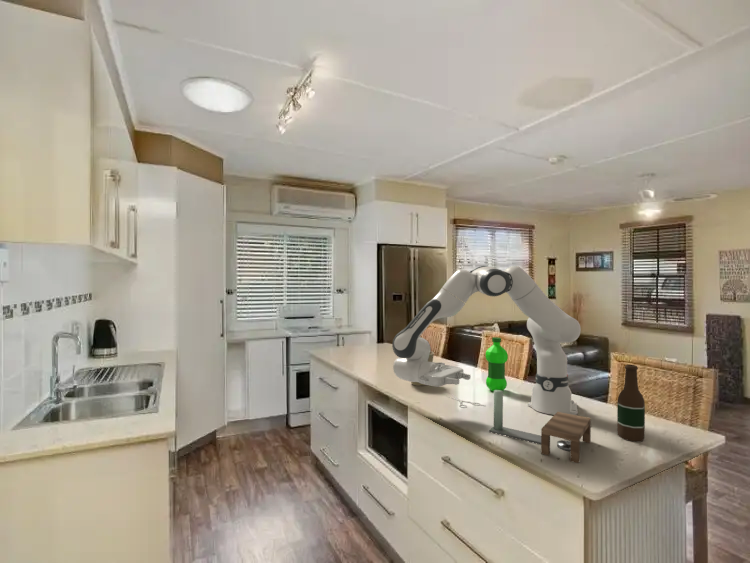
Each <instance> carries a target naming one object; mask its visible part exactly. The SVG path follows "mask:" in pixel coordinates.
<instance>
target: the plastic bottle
mask: <svg viewBox="0 0 750 563" xmlns="http://www.w3.org/2000/svg"><path fill="white" fill-rule="evenodd" d="M491 342H492V345H491V346H490V347H488V348H487V349H486V351H485V360H486V361H487V377H486V379H485V384H486V387H487V389H489V390H490V391H491V392H493V393H494V390H501V391H503V392H504V390H505V389H506V388H507V386H508V383H507V379H506V362H508V359H509V355H508V352H507V350H506V349H505V348H504V347H503V346H501V343H502V337H497V336H495V337H491Z"/></svg>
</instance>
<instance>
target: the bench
mask: <svg viewBox="0 0 750 563" xmlns="http://www.w3.org/2000/svg"><path fill="white" fill-rule="evenodd" d="M591 421H592V420H591V417H588V416H582V415H578V414H577V415H572V414H567V413H562V412H557V413H556V414H555V415H553V416H552V417H550V419H549V420H548V421H547V422H546V423H545V425H543V426H542V427H541V429H540V430H541V432H540V433H541V434H540V436H541V445H540V450H541V451H540V452H541V453H540V454H541V455H544V456H549V455H550V454H551V437H555V438H559V439H563V440H566V441H570V442H571V451H570V462H572V463H575V464H579V463H580V462H581V460H580V456H581V452H580V451H581V450H580V448H581V440H582V442H583V443H587V444H590V443H591V441H592V440H591V438H592V437H591V434H592V433H591V431H592V430H591V428H592V424H591V423H592V422H591Z"/></svg>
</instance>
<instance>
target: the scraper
mask: <svg viewBox="0 0 750 563" xmlns="http://www.w3.org/2000/svg"><path fill="white" fill-rule="evenodd" d="M503 414H504V390H503V391H501V390H494V392H493V426H492V427H491V428H490V429H489V430H488V432H489V433H491V432H493V433H492V434H495V433H497V434H496V435H499V434H501V435H500V436H503V435H506V436H505V437H507V436H509V437H508V438H511V437H513V438H512V439H515V438H517V439H516V440H519V439H521V440H520V441H523V440H525V441H524V442H527V441H529V443H532V442H534V443H533V444H536V443H537V444H536V445H540V446H541V434H540V435H539V434H535V433H532V432H526V431H522V430H519V429H514V428H513V429H512V428H510V427H505V426H503V425H504V420H503V418H504V415H503Z"/></svg>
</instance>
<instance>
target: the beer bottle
mask: <svg viewBox="0 0 750 563" xmlns="http://www.w3.org/2000/svg"><path fill="white" fill-rule="evenodd" d="M624 369H625V370H624V371H625V373H624V375H625V376H624V385H623V389H622V390H621V391H620V393H619V395H618V397H617V404H616V405H617V410H616V411H617V415H616V416H617V419H616V420H617V423H616V424H617V426H616V427H617V428H616V430H617V436H618V437H619V438H620V439H622V440H625V441H630V442H640V443H641V442H643V441H644V439H645V434H646V431H645V430H646V428H645V427H646V426H645V424H646V421H645V420H646V417H645V416H646V413H645V412H646V404H645V399H644V396H643V394H642V393H641V392H640V390H639V385H638V384H639V383H638V381H639V380H638V369H639V368H638V366H637V365H636V364H626V365H624Z"/></svg>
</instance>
